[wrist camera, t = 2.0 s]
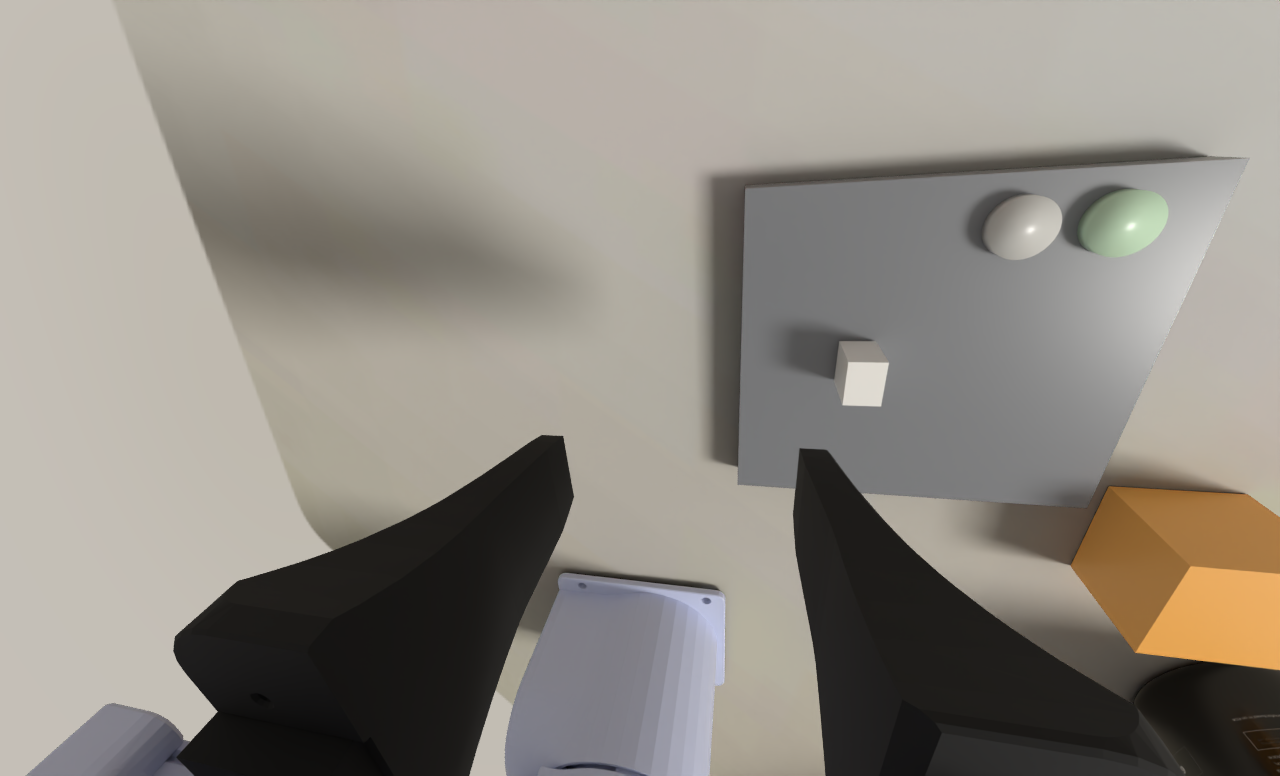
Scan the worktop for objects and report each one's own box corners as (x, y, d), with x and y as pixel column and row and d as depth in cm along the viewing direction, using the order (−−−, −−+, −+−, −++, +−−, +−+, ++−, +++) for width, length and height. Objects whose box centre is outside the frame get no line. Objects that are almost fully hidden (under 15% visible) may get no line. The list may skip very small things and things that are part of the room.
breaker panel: (738, 467, 22) (737, 492, 20) (745, 185, 16) (745, 190, 15) (1068, 487, 19) (1095, 517, 18) (1211, 156, 14) (1268, 159, 12)
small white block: (834, 381, 18) (842, 405, 16) (839, 340, 17) (848, 361, 15) (869, 381, 17) (881, 406, 16) (875, 341, 17) (889, 362, 15)
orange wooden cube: (1070, 565, 21) (1134, 652, 17) (1108, 486, 19) (1190, 566, 15) (1193, 577, 20) (1288, 671, 16) (1248, 494, 18) (1369, 581, 14)
